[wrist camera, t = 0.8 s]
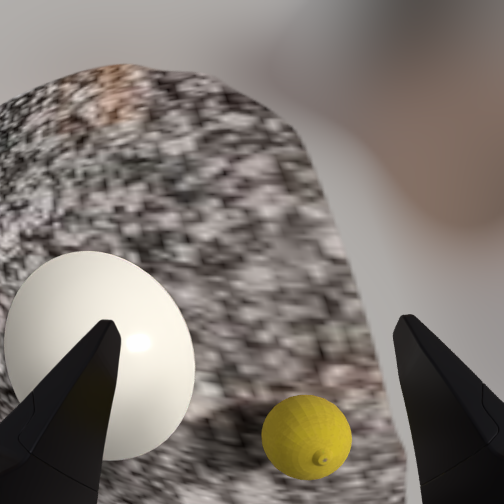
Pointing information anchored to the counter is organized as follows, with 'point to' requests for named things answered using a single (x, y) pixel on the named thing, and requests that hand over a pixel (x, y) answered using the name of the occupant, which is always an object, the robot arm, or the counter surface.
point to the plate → (132, 342)
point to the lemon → (306, 437)
